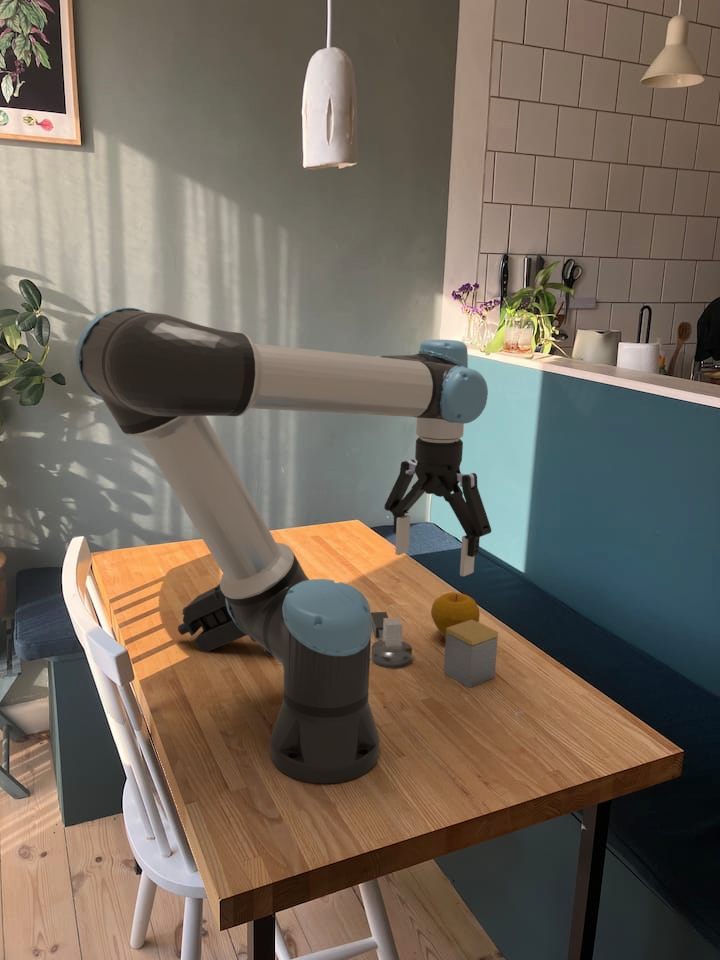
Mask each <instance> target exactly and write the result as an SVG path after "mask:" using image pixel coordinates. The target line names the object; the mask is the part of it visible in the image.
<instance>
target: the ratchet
mask: <svg viewBox="0 0 720 960" xmlns="http://www.w3.org/2000/svg"><path fill="white" fill-rule="evenodd" d="M370 612H371V623H372V632H373V634H374V637H375V639H378V640H377V641H375V642H373V644H372V645H371V651H370V660H371V661H372V663H373V664H375V665H377V666H379V667H383V668H387V669H400V668H405V667H406V666H408V665H410V664H411V662H412V659H413V657H412V655H413V648H412V647H413V646H412V645H410V644H409V643H408V642H407V641H403V622H402V620H401V618H400V617H389V615H388V613H387V611H377V612H376V611H373V612H372V611H370Z"/></svg>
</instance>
